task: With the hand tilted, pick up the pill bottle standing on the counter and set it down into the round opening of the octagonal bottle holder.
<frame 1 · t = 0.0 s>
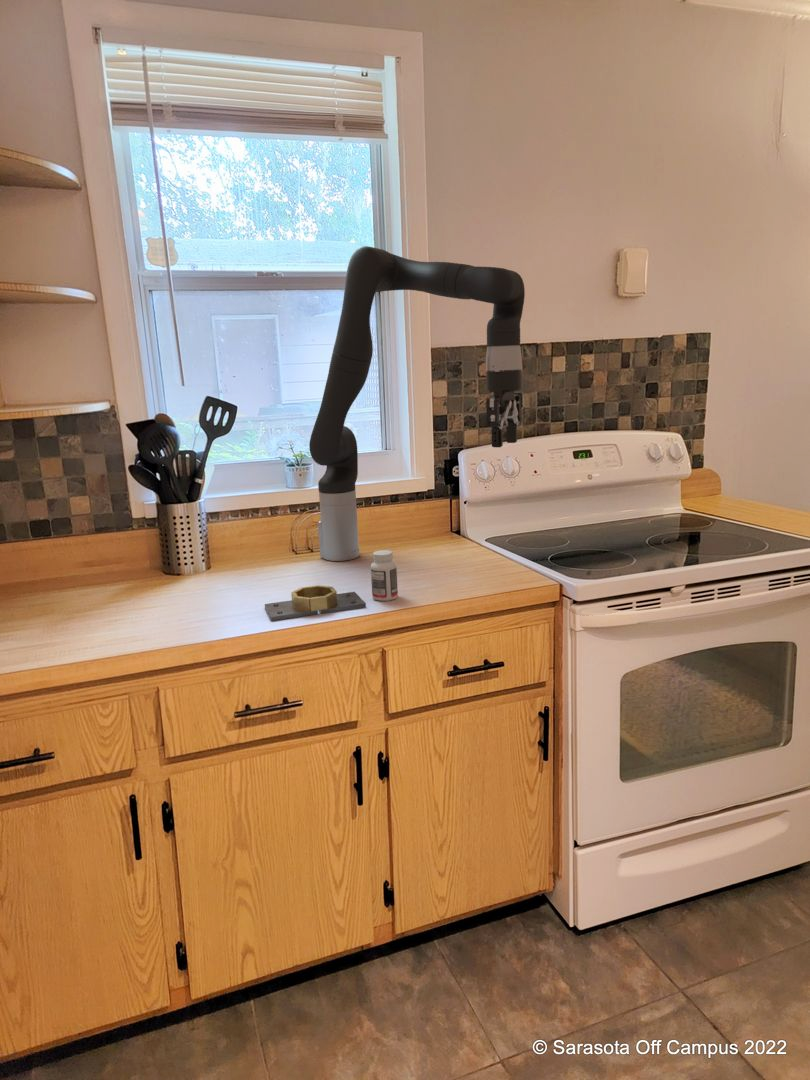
hand: (504, 444, 157), 29 cm above the counter, tool pointing down, fingers open, 8 cm apart
octagonal bottle holder: (315, 607, 147), on the counter
pill bottle: (385, 598, 151), on the counter
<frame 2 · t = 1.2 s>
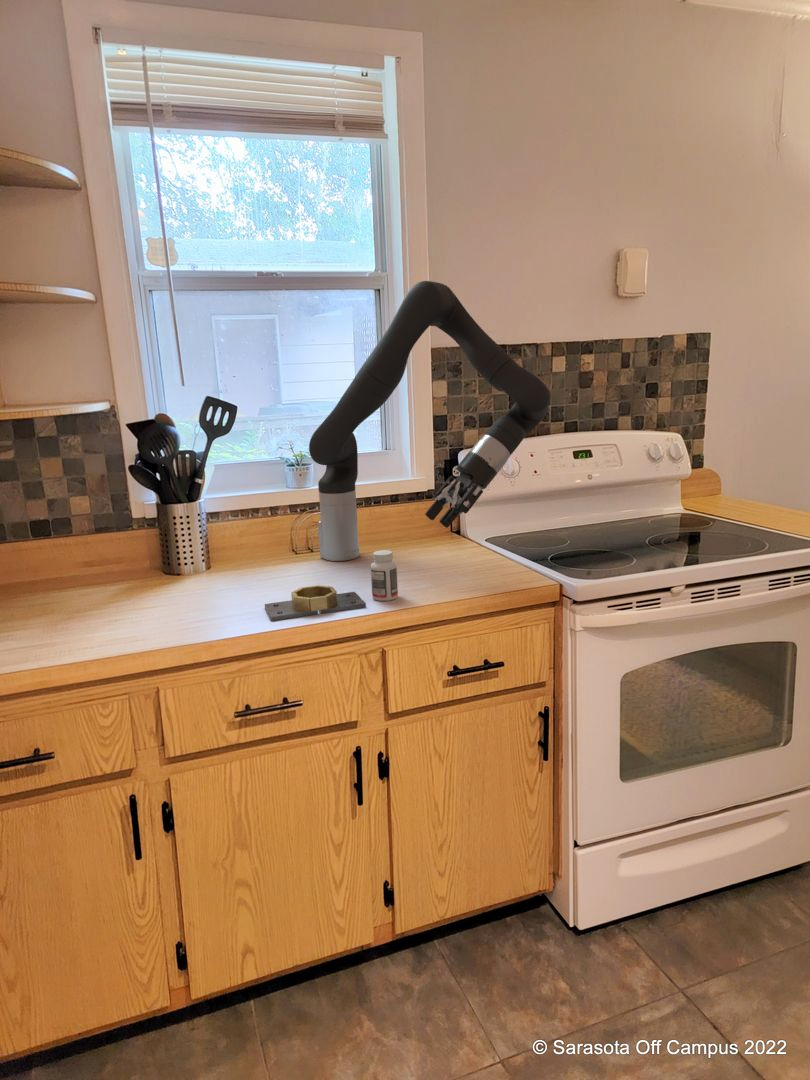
hand: (435, 521, 151), 15 cm above the counter, tool tilted 45°, fingers open, 8 cm apart
nothing on the counter moved.
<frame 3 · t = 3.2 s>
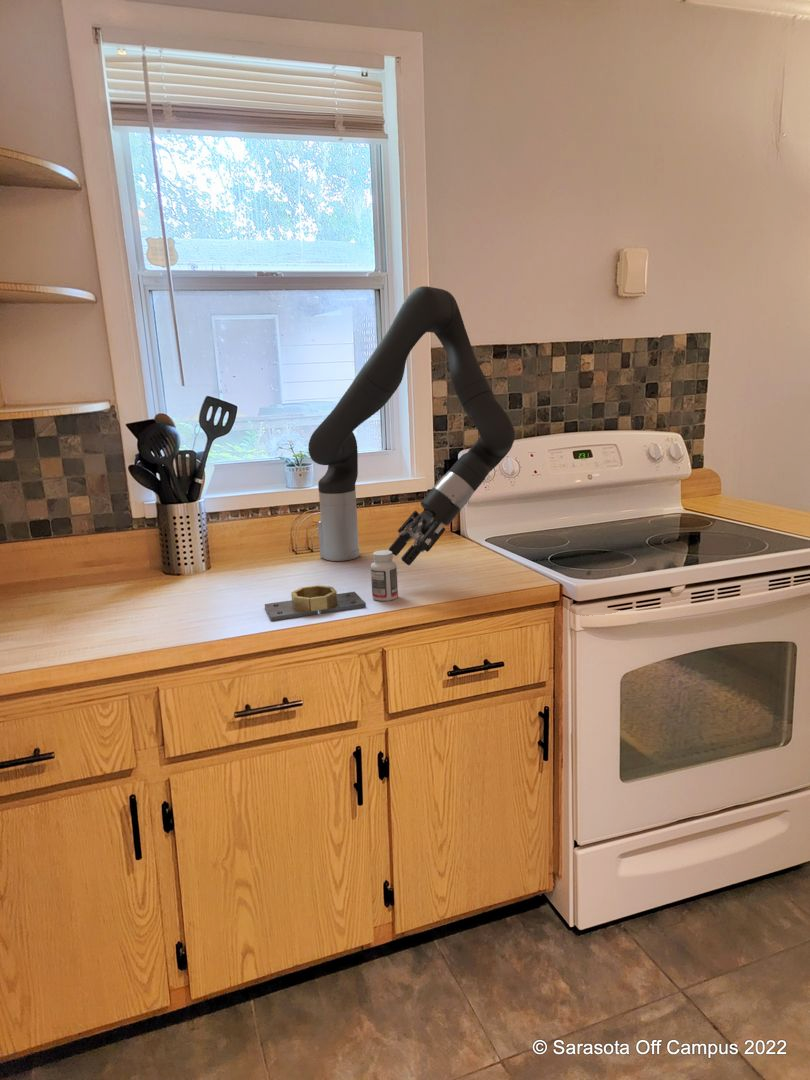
hand: (398, 557, 150), 8 cm above the counter, tool tilted 45°, fingers open, 8 cm apart
nothing on the counter moved.
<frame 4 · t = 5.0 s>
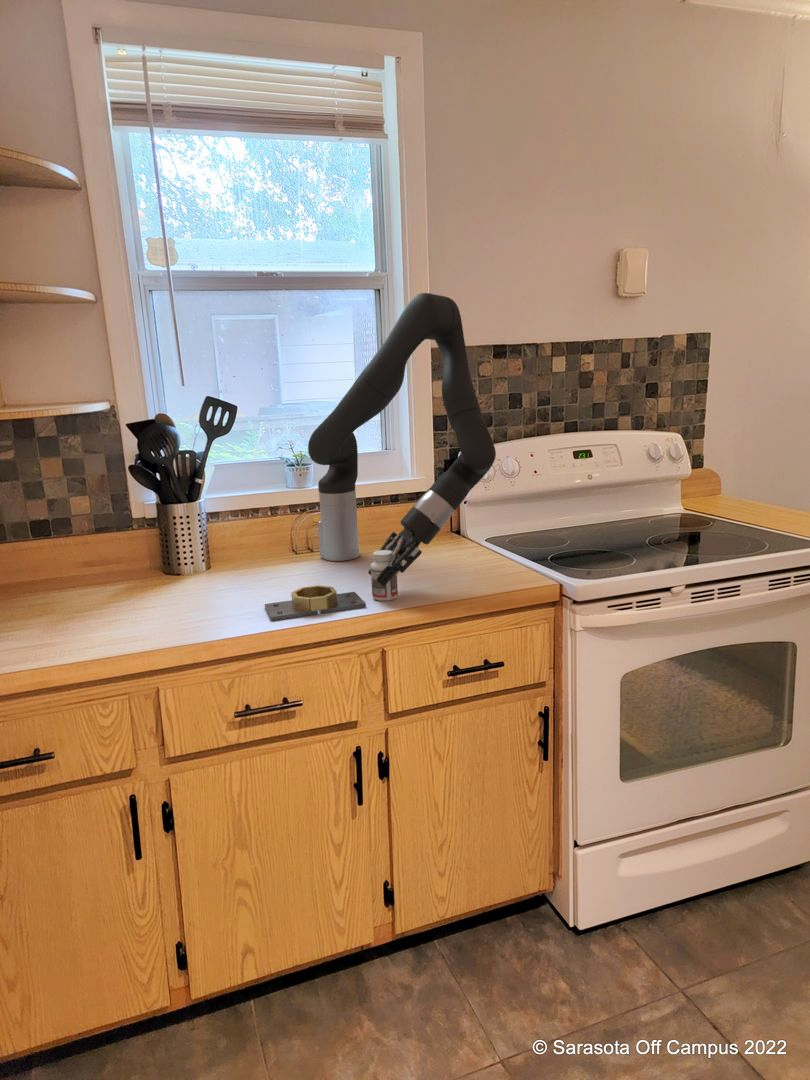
hand: (375, 579, 150), 4 cm above the counter, tool tilted 45°, fingers closed on pill bottle, 5 cm apart
pill bottle: (385, 598, 151), on the counter, touching gripper
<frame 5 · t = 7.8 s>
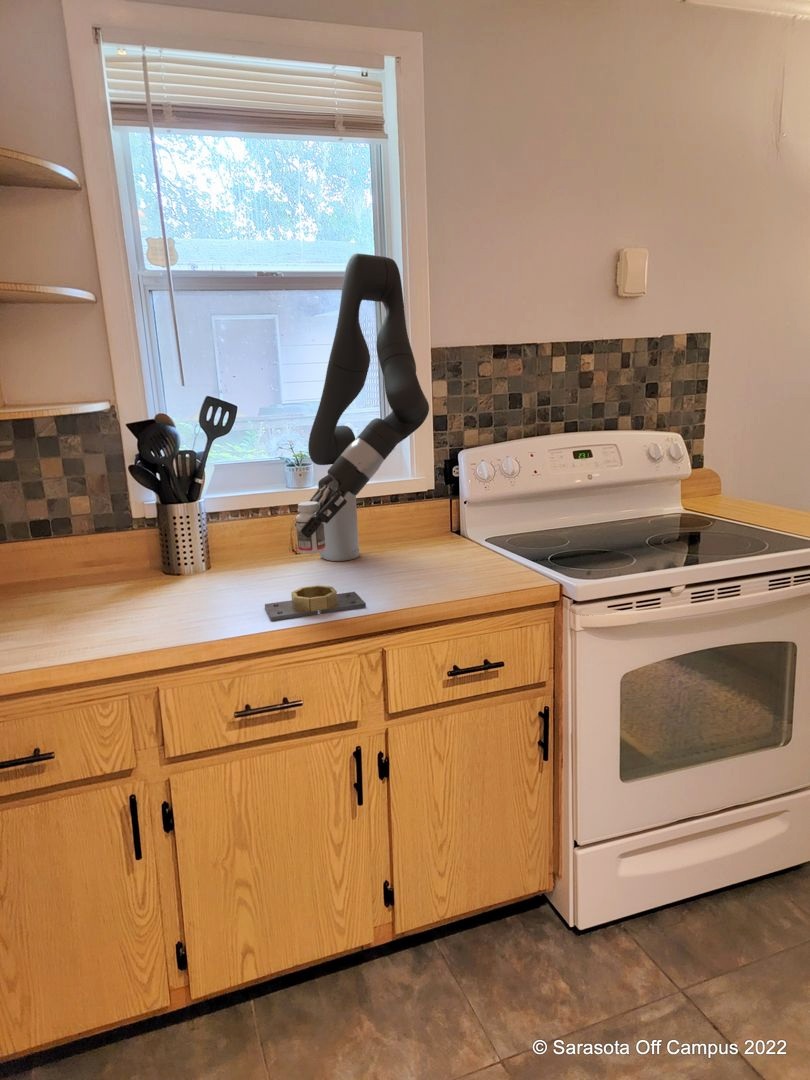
hand: (301, 531, 143), 16 cm above the counter, tool tilted 45°, fingers closed on pill bottle, 5 cm apart
pill bottle: (312, 552, 144), point 12 cm above the counter, touching gripper
when the fingers open (7 cm above the counter, at t = 10.4 s): pill bottle drops 1 cm, resting on octagonal bottle holder.
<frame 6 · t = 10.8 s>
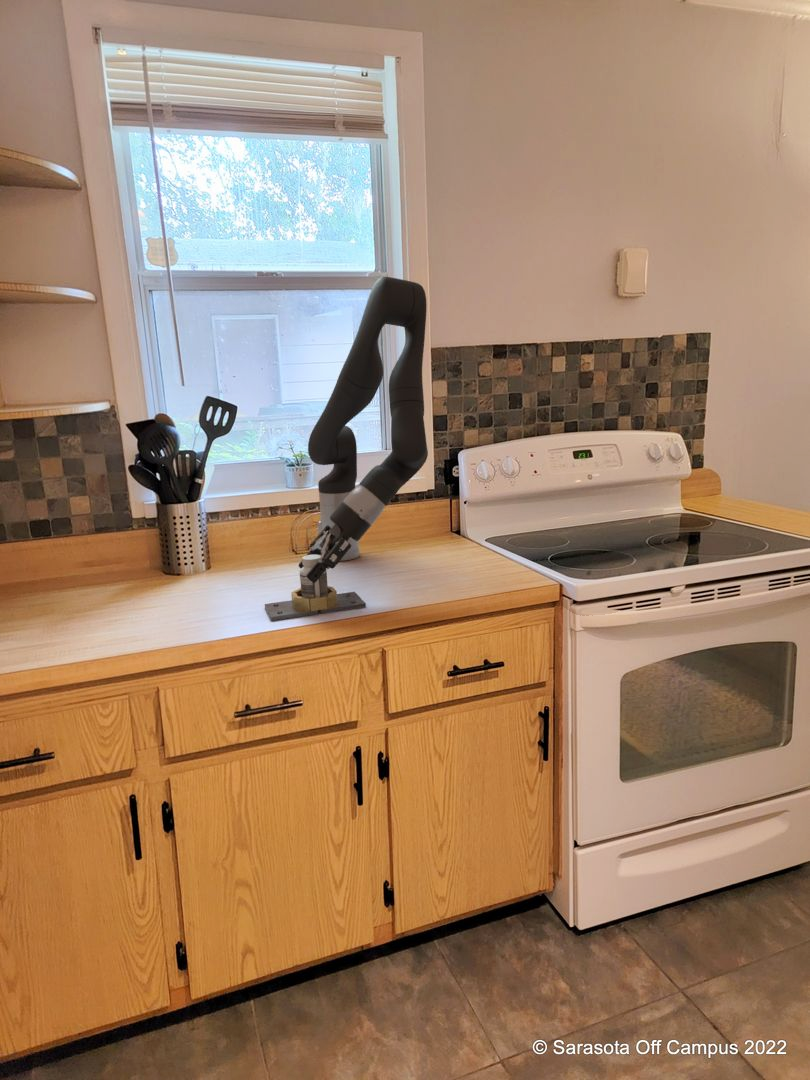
hand: (305, 574, 145), 7 cm above the counter, tool tilted 45°, fingers open, 8 cm apart
pill bottle: (315, 604, 147), point 1 cm above the counter, touching octagonal bottle holder
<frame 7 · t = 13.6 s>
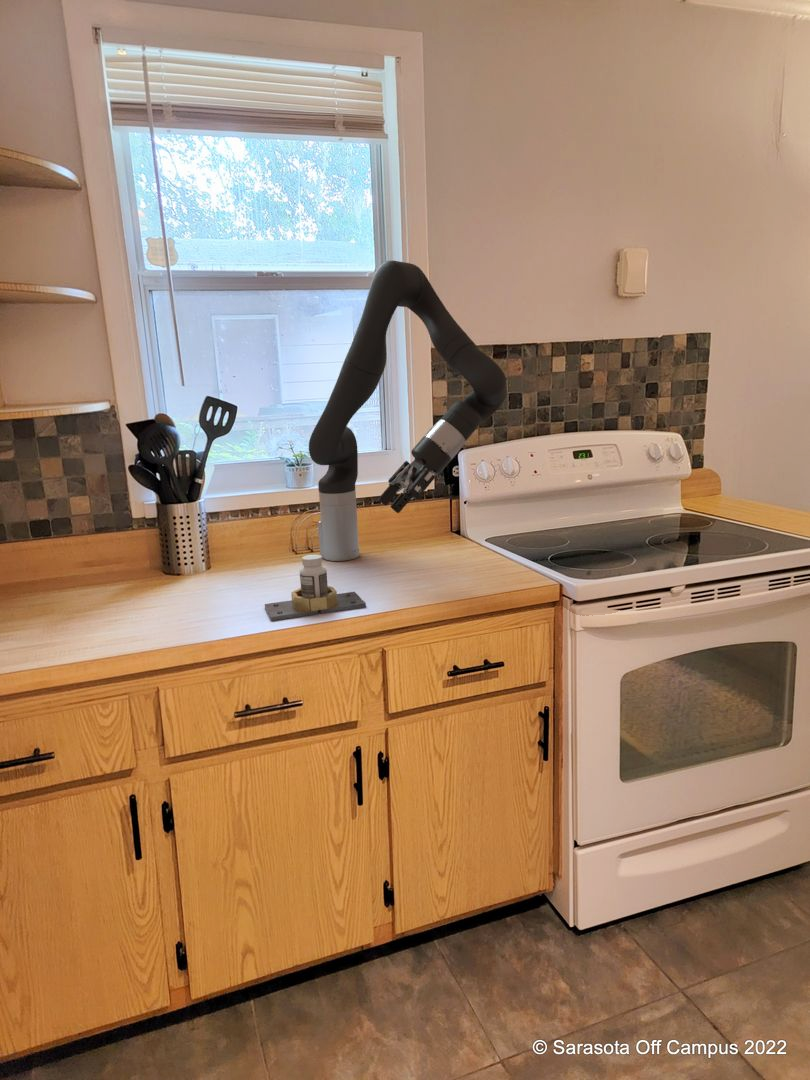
hand: (387, 506, 149), 19 cm above the counter, tool tilted 45°, fingers open, 8 cm apart
nothing on the counter moved.
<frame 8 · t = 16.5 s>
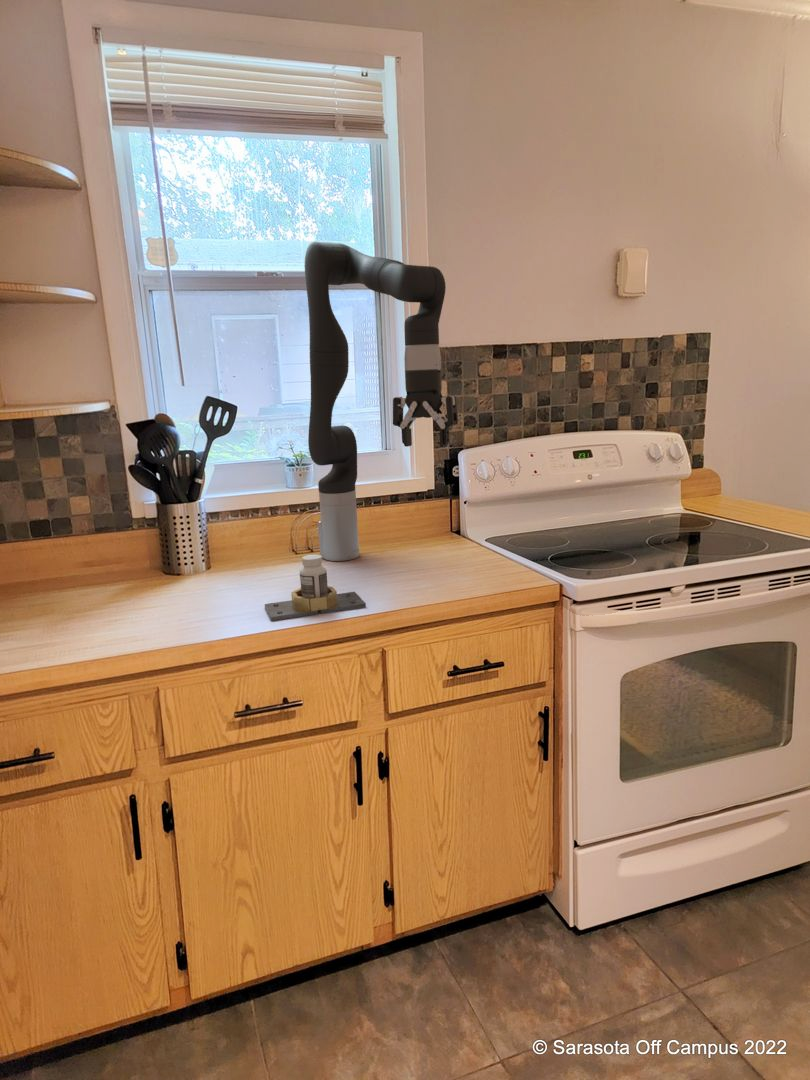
hand: (425, 446, 153), 30 cm above the counter, tool pointing down, fingers open, 8 cm apart
nothing on the counter moved.
at the end: pill bottle 0.3 cm from the octagonal bottle holder (horizontally); pill bottle tilted 0°; the gripper is holding nothing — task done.
